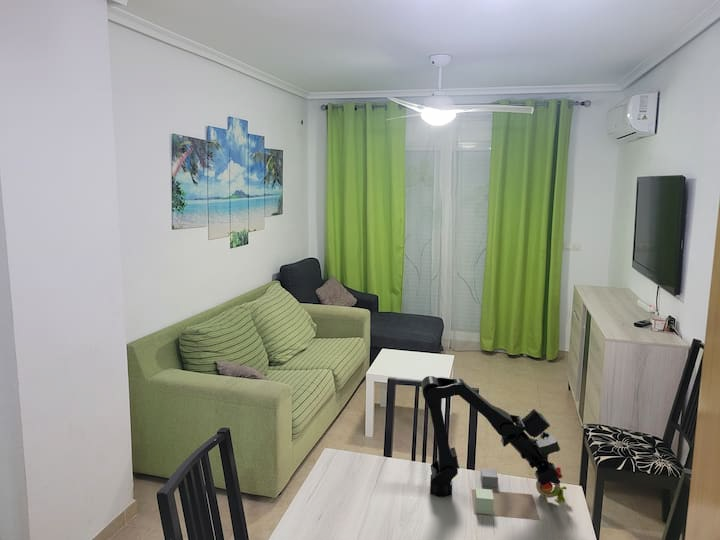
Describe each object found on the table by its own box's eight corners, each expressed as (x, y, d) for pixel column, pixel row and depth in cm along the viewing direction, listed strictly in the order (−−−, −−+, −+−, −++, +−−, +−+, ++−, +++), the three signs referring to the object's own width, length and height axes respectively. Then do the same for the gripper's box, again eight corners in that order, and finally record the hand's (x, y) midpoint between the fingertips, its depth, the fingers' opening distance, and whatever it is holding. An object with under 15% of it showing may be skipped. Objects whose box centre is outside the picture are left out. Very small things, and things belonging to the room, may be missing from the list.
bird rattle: (544, 510, 170) (573, 502, 168) (531, 480, 168) (561, 472, 166) (541, 496, 176) (569, 489, 174) (529, 468, 174) (557, 460, 172)
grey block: (481, 490, 178) (482, 476, 177) (480, 481, 183) (481, 468, 182) (497, 491, 177) (498, 477, 176) (495, 483, 182) (496, 469, 181)
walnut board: (473, 518, 163) (474, 513, 163) (471, 493, 176) (471, 489, 176) (539, 524, 161) (540, 519, 161) (531, 498, 173) (532, 494, 173)
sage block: (475, 513, 163) (476, 497, 162) (474, 503, 168) (475, 488, 167) (492, 514, 163) (493, 499, 162) (491, 504, 168) (492, 489, 167)
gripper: (553, 443, 159) (588, 480, 161) (536, 415, 178) (567, 448, 179) (524, 467, 161) (558, 503, 163) (510, 437, 179) (541, 469, 181)
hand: (557, 479), depth 171 cm, fingers closed on bird rattle, 4 cm apart
